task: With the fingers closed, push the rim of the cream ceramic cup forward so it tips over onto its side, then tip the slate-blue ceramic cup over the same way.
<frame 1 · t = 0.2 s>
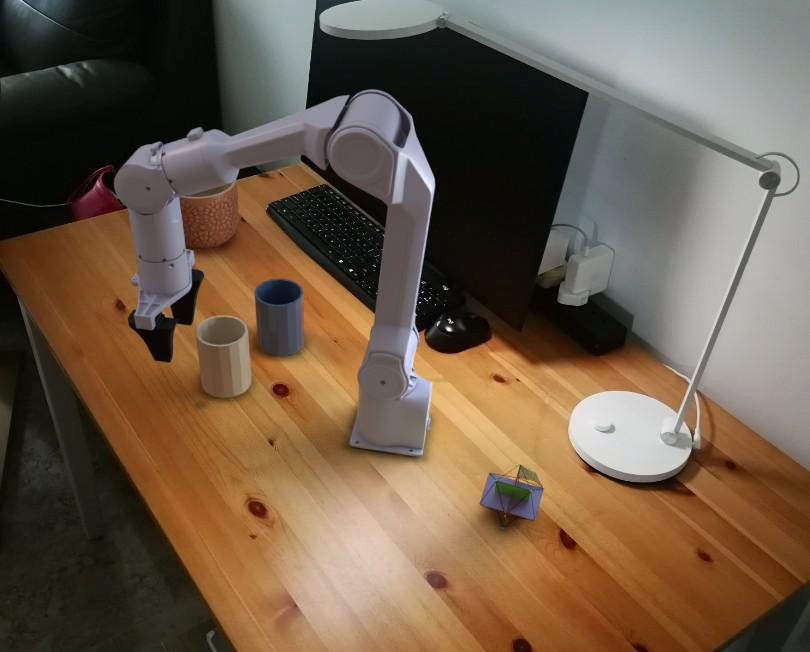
hand: (174, 341, 107), 10 cm above the table, tool pointing down, fingers open, 7 cm apart
blue cup: (280, 342, 124), on the table
cream cup: (226, 382, 117), on the table
planter: (204, 238, 145), on the table
geometric puzzle: (507, 515, 102), on the table
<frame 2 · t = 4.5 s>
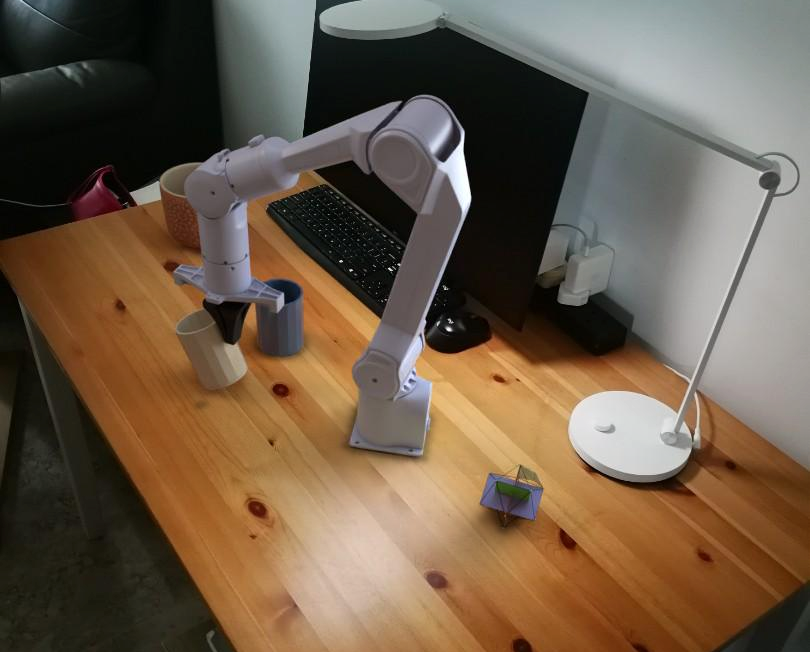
hand: (232, 339, 112), 8 cm above the table, tool pointing down, fingers closed
cream cup: (224, 375, 116), point 1 cm above the table, tilted 21°
everything else where it was.
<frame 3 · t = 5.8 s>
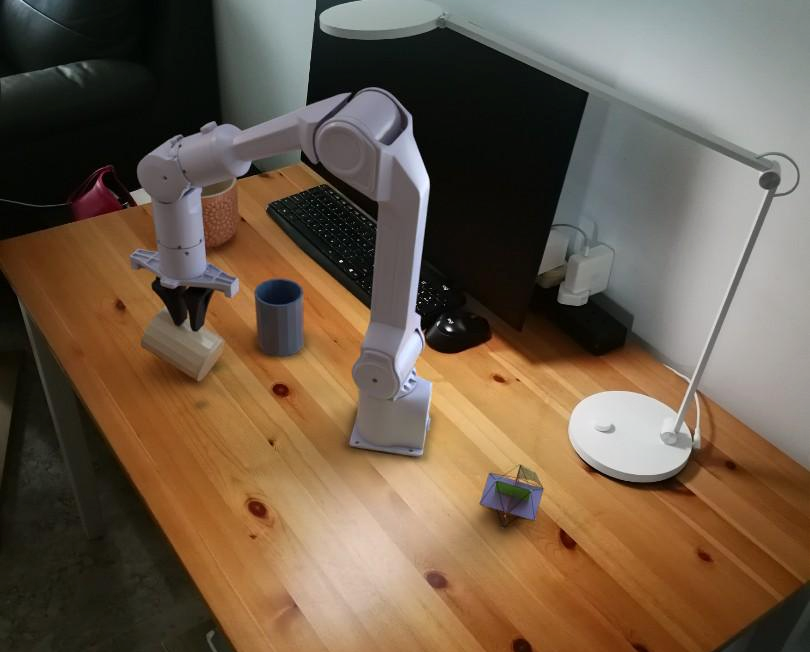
hand: (189, 324, 113), 8 cm above the table, tool pointing down, fingers closed
cream cup: (211, 360, 116), point 3 cm above the table, tilted 68°, touching gripper
everything else where it was.
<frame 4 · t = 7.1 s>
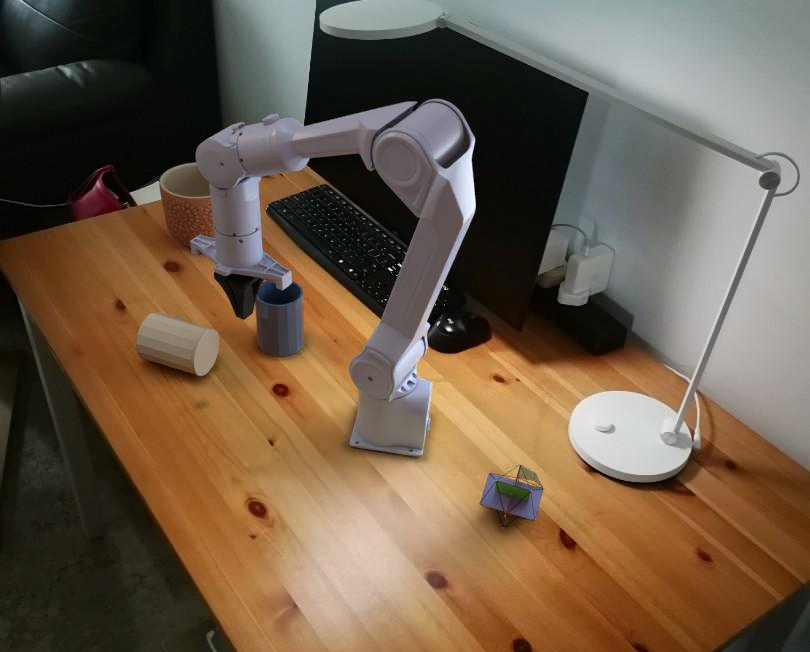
hand: (244, 314, 112), 10 cm above the table, tool pointing down, fingers closed
cream cup: (207, 352, 116), point 3 cm above the table, tilted 90°
everything else where it was.
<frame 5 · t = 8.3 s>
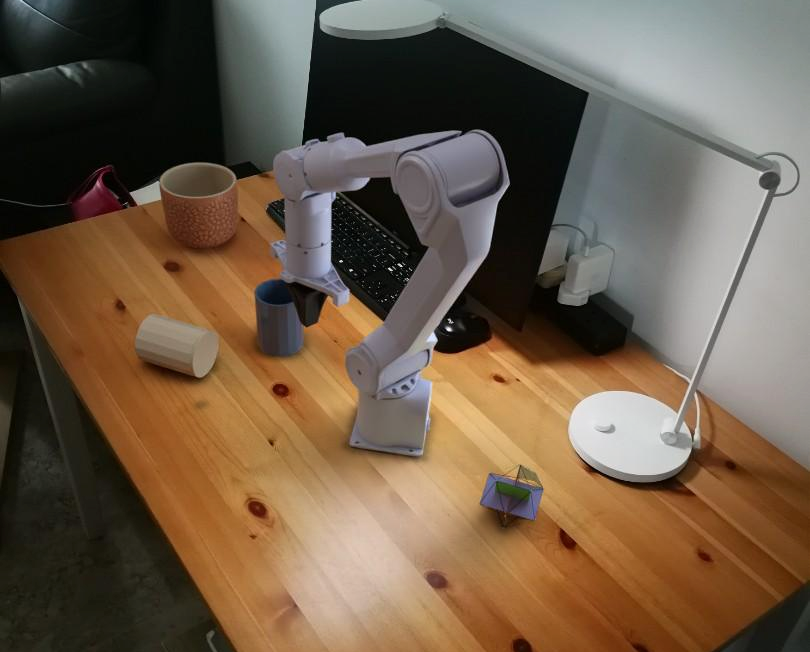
hand: (309, 322, 115), 8 cm above the table, tool pointing down, fingers closed
nothing on the table moved.
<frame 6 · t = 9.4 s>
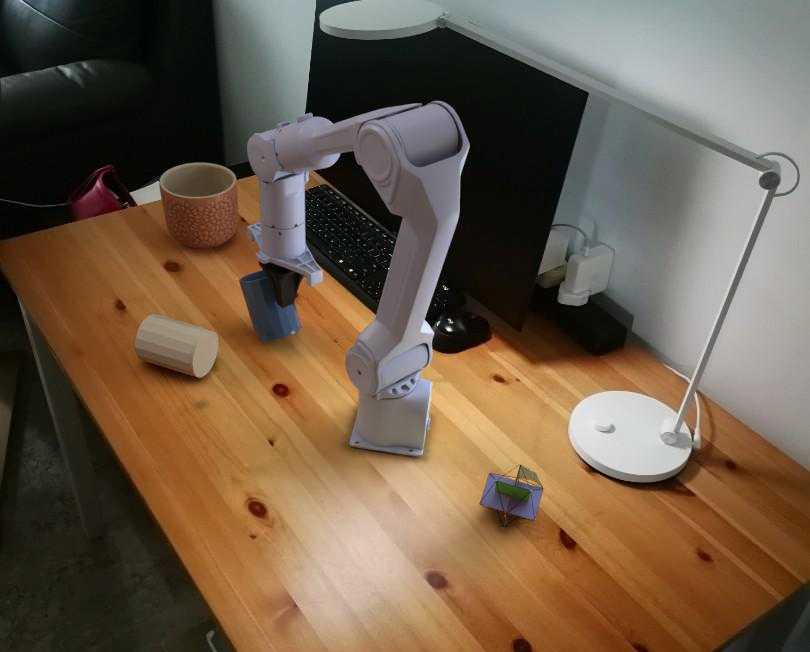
hand: (285, 303, 118), 8 cm above the table, tool pointing down, fingers closed
blue cup: (279, 333, 124), point 1 cm above the table, tilted 27°
everything else where it was.
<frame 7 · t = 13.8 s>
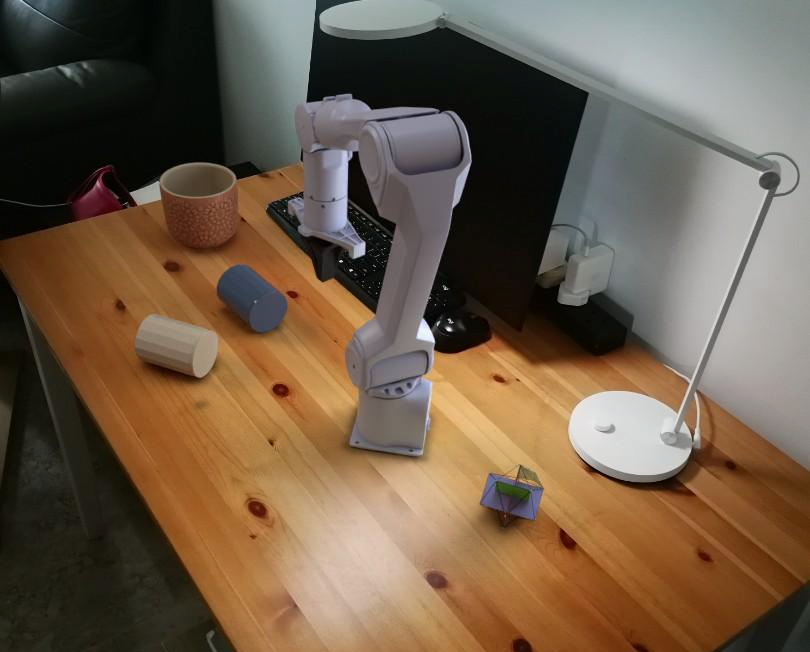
hand: (325, 278, 119), 10 cm above the table, tool pointing down, fingers closed
blue cup: (268, 312, 124), point 3 cm above the table, tilted 90°
everything else where it was.
at the end: cream cup tilted 90°; blue cup tilted 90° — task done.
